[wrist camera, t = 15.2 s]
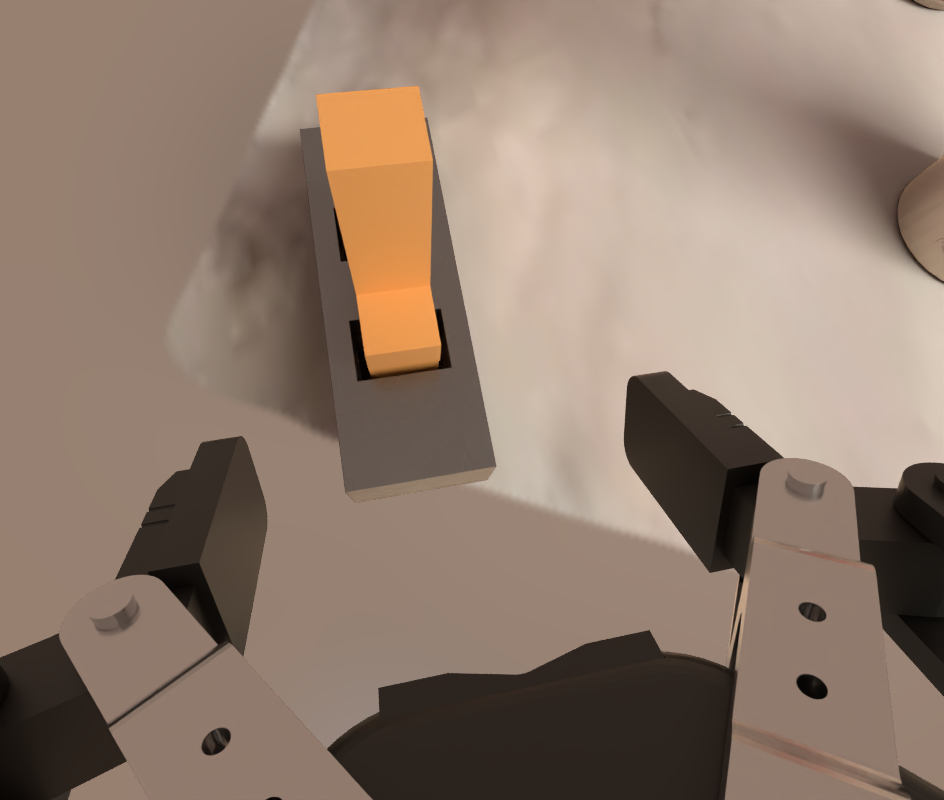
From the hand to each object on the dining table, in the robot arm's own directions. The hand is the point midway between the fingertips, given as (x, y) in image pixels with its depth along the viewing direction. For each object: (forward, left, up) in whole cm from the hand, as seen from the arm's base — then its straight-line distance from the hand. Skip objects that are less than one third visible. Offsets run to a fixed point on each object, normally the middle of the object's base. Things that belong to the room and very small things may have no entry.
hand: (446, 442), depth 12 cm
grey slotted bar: (-8, -8, -19) cm, 22 cm away
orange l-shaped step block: (-8, -8, -19) cm, 22 cm away
